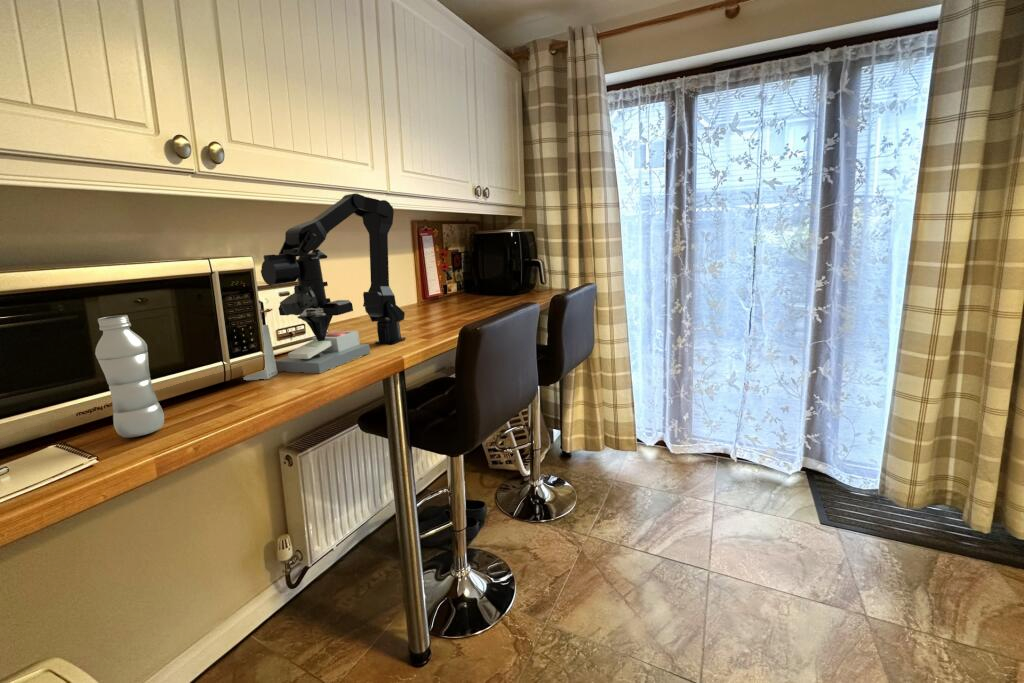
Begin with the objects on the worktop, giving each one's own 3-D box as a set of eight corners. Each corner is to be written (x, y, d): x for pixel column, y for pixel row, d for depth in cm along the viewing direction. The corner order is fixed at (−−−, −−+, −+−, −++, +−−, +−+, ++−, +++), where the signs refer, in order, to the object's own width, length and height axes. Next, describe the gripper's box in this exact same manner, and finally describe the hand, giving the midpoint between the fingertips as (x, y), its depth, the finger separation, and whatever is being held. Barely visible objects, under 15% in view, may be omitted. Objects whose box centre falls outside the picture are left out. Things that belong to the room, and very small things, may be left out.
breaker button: (336, 344, 127) (334, 331, 126) (351, 344, 125) (349, 331, 124) (323, 348, 122) (320, 335, 122) (338, 349, 120) (336, 336, 120)
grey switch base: (329, 352, 130) (325, 330, 129) (370, 353, 125) (367, 331, 124) (275, 371, 114) (271, 346, 113) (320, 373, 109) (315, 348, 108)
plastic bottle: (115, 436, 79) (83, 319, 75) (164, 423, 84) (136, 312, 80) (120, 446, 75) (85, 322, 70) (171, 431, 79) (141, 314, 75)
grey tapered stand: (278, 374, 111) (269, 324, 108) (267, 379, 107) (257, 328, 104) (254, 375, 112) (244, 325, 109) (242, 381, 108) (232, 329, 105)
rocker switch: (313, 344, 120) (311, 340, 119) (331, 345, 118) (330, 340, 117) (289, 358, 113) (287, 352, 113) (308, 358, 111) (306, 353, 110)
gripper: (254, 285, 111) (267, 349, 115) (315, 283, 104) (327, 351, 108) (291, 278, 121) (302, 337, 125) (349, 276, 114) (359, 339, 118)
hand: (321, 341), depth 118 cm, fingers closed, pressing on rocker switch
